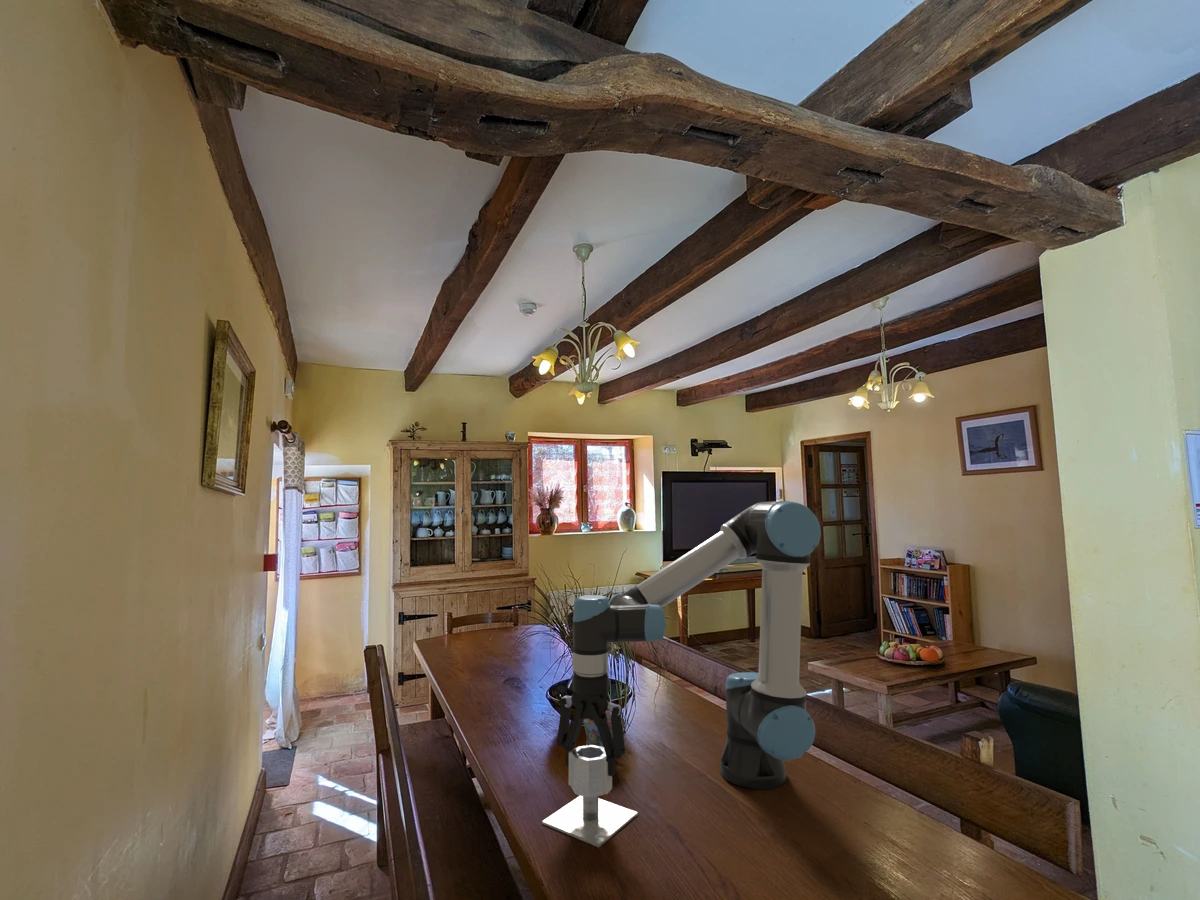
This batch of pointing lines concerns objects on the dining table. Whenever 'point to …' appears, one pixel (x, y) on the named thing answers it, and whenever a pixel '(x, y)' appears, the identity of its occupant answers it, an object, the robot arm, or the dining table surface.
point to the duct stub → (590, 819)
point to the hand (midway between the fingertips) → (590, 786)
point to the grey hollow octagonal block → (587, 770)
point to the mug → (593, 732)
